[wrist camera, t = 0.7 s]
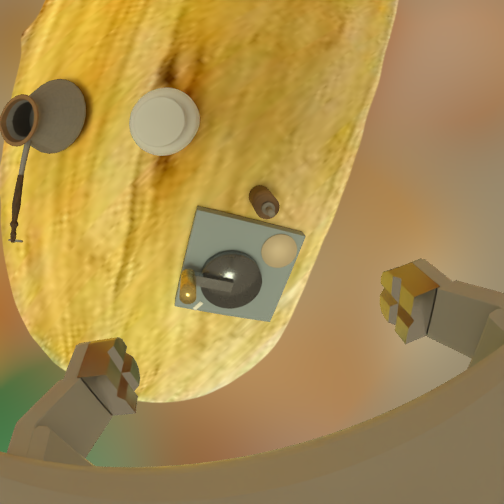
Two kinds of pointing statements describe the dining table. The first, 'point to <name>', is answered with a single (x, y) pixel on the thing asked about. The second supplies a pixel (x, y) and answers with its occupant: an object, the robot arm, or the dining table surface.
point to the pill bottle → (164, 121)
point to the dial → (223, 280)
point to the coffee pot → (42, 126)
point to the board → (250, 242)
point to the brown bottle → (263, 202)
